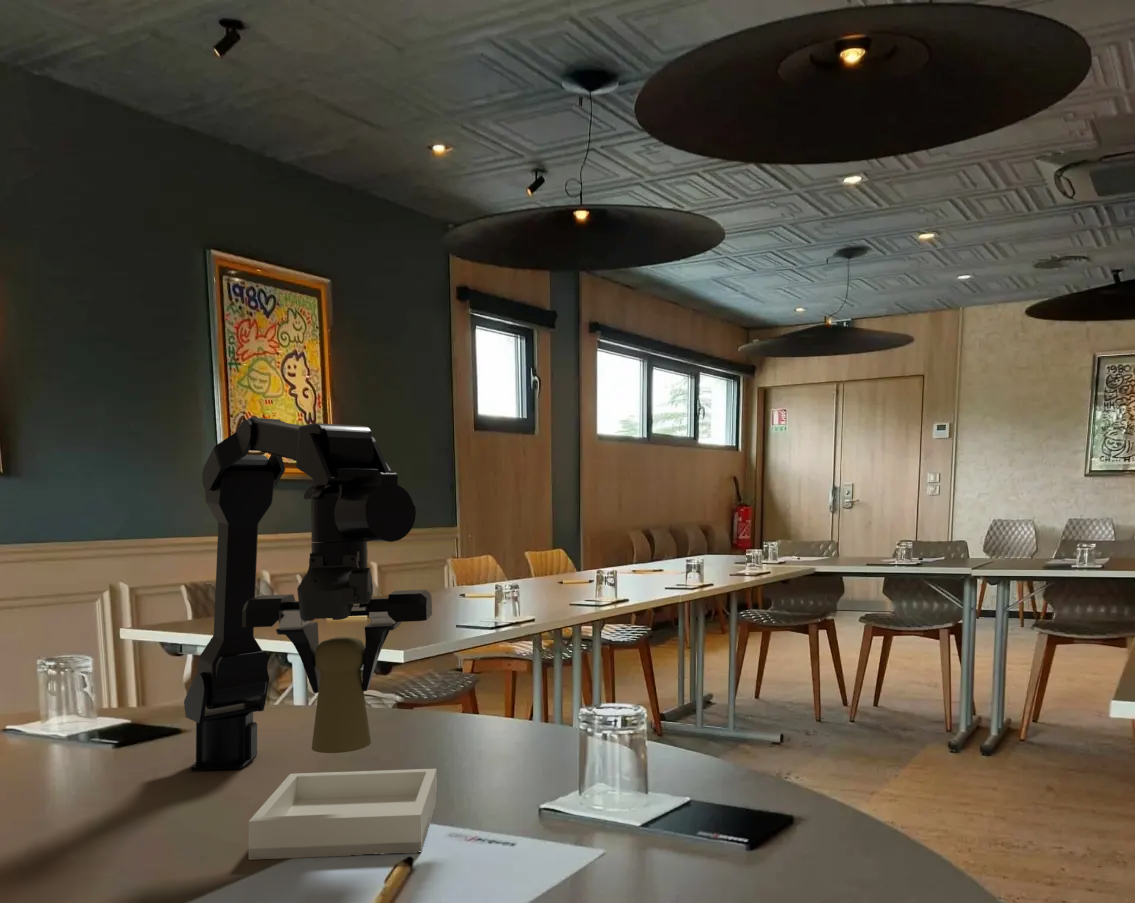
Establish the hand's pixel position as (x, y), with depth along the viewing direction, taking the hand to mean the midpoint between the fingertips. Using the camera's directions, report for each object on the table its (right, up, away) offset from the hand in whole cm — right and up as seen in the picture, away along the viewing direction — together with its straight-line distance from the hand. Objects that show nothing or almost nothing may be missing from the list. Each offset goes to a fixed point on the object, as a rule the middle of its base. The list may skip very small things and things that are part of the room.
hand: (341, 691), depth 88 cm
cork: (0, -6, 0) cm, 6 cm away
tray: (+2, -13, -2) cm, 14 cm away
